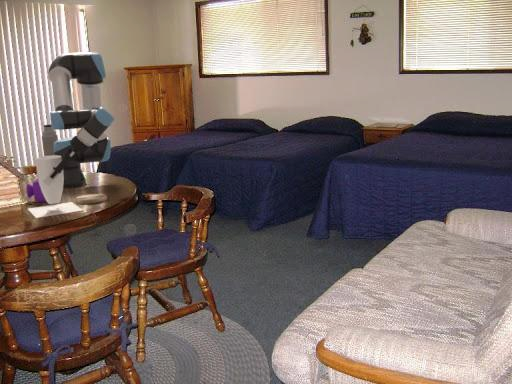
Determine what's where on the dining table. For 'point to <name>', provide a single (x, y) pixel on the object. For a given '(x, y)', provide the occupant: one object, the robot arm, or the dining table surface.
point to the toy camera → (35, 191)
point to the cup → (43, 170)
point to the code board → (54, 210)
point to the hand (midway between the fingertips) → (48, 180)
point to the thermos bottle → (49, 140)
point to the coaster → (91, 198)
